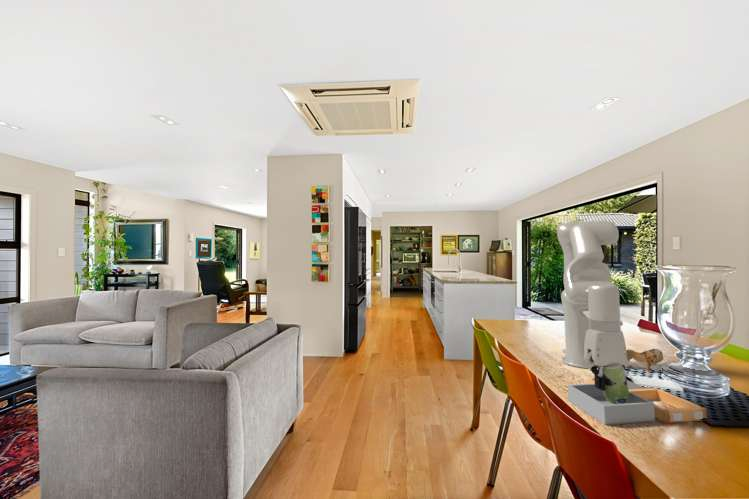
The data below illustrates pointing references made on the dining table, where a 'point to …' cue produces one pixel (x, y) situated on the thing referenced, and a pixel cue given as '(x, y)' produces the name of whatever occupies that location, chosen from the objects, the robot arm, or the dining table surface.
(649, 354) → the lion figurine
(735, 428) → the dining table surface
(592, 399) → the parts bin
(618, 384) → the beverage can
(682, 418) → the case
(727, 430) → the dining table surface
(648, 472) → the dining table surface
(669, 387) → the hard drive
